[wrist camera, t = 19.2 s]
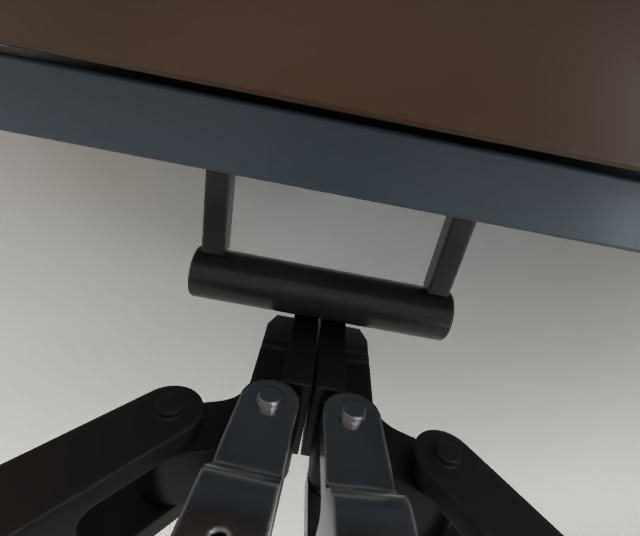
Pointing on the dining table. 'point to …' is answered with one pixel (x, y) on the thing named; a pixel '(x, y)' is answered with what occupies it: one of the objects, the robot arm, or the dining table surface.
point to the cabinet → (383, 60)
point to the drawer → (318, 181)
